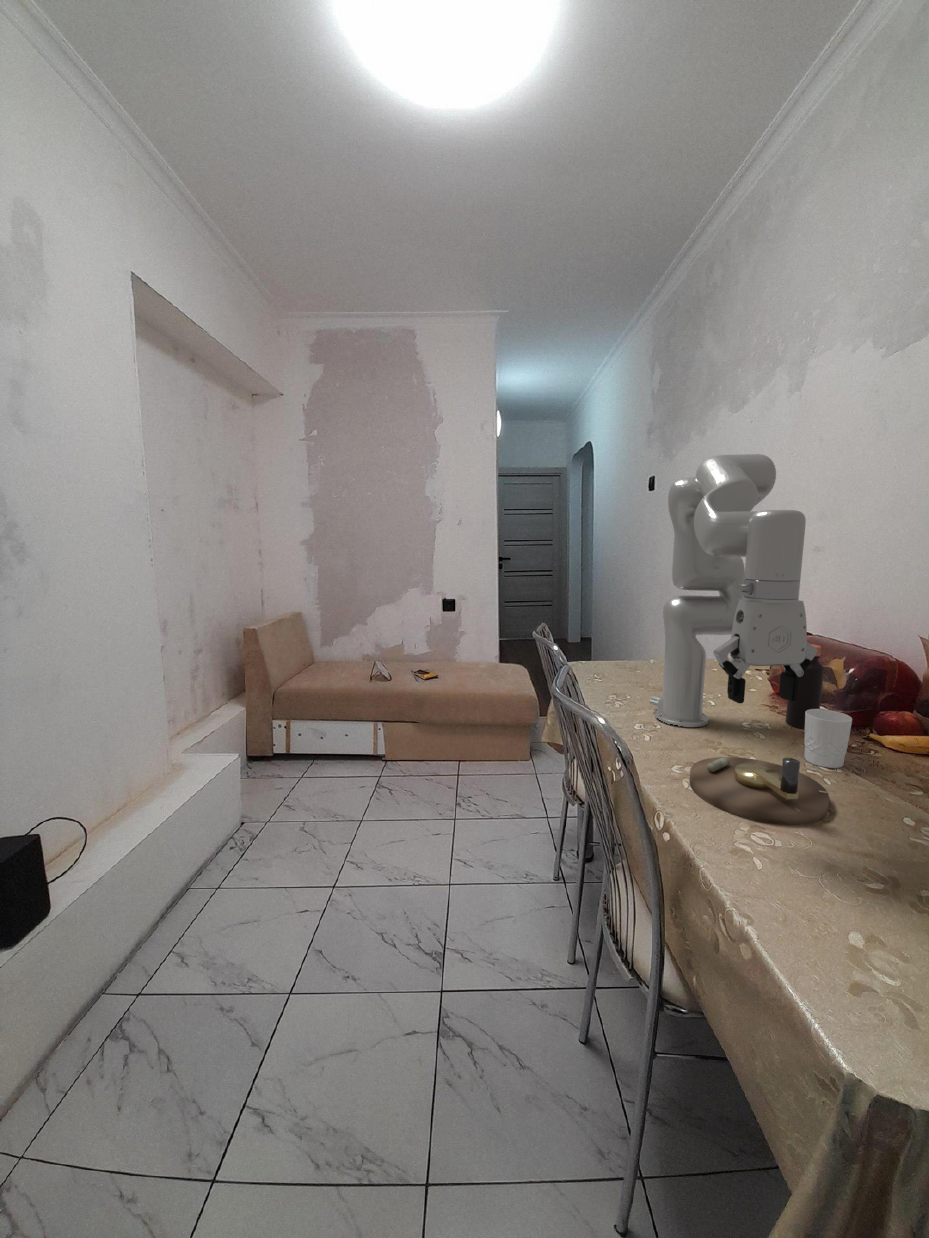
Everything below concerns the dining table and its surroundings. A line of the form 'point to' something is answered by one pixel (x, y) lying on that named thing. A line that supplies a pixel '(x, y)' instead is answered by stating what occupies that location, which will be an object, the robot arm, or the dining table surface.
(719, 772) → the base plate
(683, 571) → the robot arm
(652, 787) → the dining table surface
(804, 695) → the bottle
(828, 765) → the white cup
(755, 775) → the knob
